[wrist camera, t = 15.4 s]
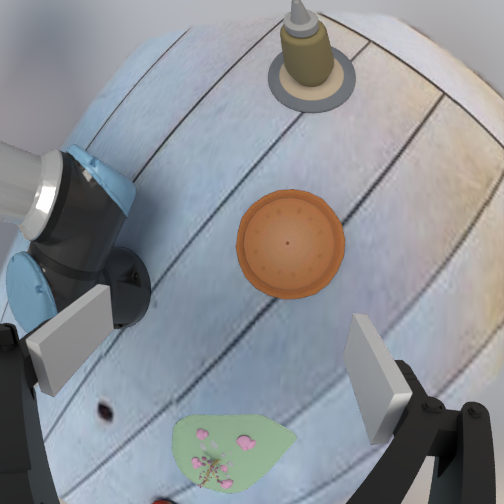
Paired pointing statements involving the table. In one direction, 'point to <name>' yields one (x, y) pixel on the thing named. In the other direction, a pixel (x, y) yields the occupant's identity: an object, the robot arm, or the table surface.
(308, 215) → the pie
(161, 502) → the tomato
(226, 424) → the plant
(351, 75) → the coaster
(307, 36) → the squeeze bottle
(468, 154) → the table surface
